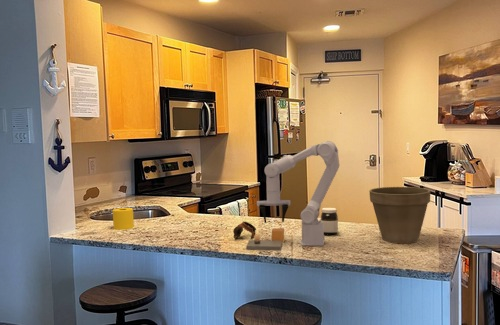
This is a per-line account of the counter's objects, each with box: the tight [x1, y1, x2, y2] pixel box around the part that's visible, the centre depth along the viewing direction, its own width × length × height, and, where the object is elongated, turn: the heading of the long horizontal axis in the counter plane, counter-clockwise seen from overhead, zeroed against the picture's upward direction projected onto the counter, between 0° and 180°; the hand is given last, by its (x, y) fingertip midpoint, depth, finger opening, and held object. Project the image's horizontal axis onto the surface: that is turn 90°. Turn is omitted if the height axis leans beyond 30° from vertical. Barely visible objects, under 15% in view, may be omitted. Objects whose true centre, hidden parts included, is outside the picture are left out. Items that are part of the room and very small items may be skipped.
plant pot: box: [368, 186, 431, 244], centre depth 196 cm, size 25×25×22 cm
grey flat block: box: [245, 233, 283, 251], centre depth 190 cm, size 14×10×5 cm
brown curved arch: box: [232, 220, 257, 239], centre depth 206 cm, size 12×10×8 cm
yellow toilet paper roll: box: [112, 207, 135, 231], centre depth 234 cm, size 10×10×9 cm
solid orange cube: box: [271, 227, 285, 243], centre depth 199 cm, size 5×5×5 cm
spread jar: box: [317, 207, 339, 237], centre depth 211 cm, size 12×11×12 cm
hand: (274, 222), depth 198 cm, fingers open, 7 cm apart
